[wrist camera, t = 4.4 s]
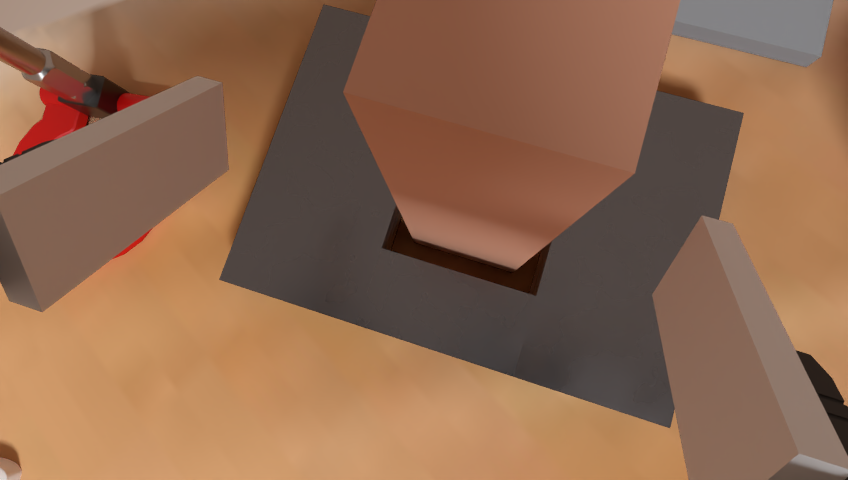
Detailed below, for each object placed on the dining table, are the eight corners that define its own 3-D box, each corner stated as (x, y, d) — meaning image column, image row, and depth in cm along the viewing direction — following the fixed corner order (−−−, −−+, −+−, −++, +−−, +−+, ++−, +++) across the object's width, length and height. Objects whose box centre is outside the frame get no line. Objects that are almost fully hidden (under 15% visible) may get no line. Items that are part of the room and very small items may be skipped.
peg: (540, 176, 24) (704, -92, 9) (512, 272, 24) (635, 173, 8) (444, 149, 25) (431, -151, 9) (414, 242, 24) (343, 92, 8)
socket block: (713, 134, 24) (743, 113, 22) (645, 416, 22) (669, 428, 20) (335, 34, 26) (323, 4, 24) (243, 283, 24) (219, 279, 22)
